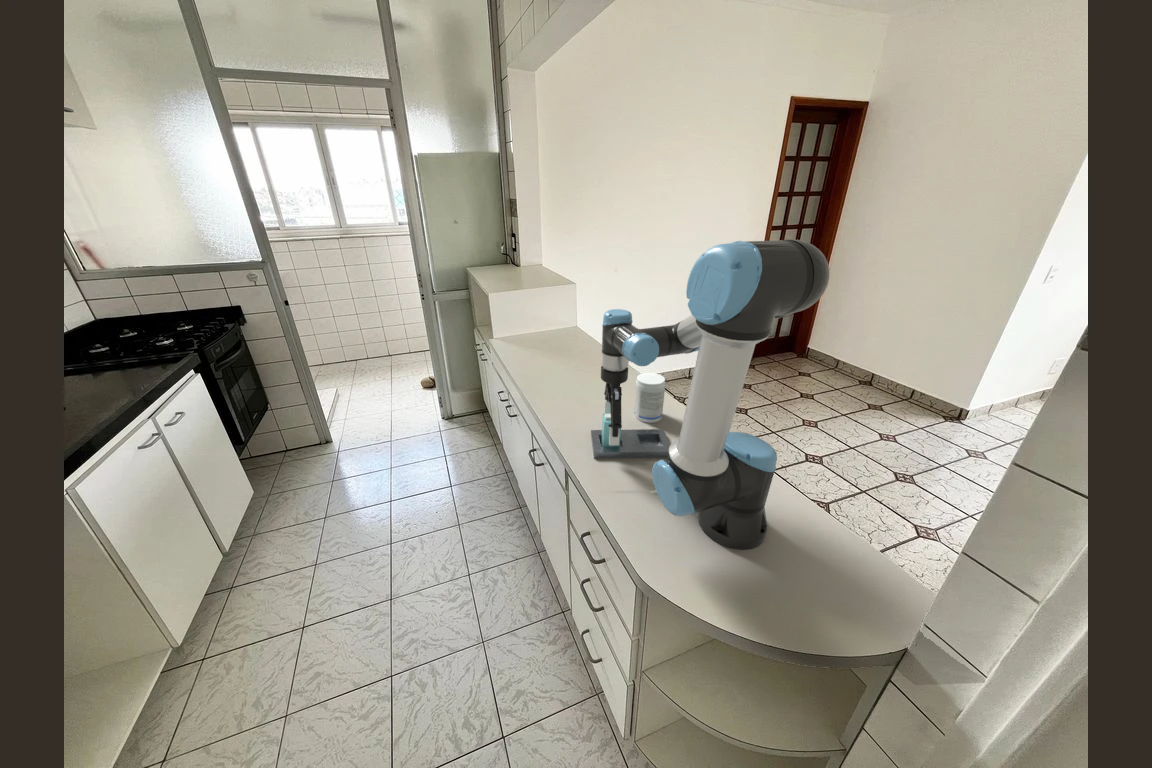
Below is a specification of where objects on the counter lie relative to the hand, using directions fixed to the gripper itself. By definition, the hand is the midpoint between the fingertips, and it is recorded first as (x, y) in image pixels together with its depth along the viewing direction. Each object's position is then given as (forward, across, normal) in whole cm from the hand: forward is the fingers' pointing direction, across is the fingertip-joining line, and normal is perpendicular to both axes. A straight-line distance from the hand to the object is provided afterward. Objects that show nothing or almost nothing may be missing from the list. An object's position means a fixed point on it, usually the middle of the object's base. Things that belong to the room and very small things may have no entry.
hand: (611, 431), depth 122 cm
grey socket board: (+6, 0, -6) cm, 8 cm away
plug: (+5, 0, 0) cm, 5 cm away
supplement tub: (+6, +18, -15) cm, 24 cm away
